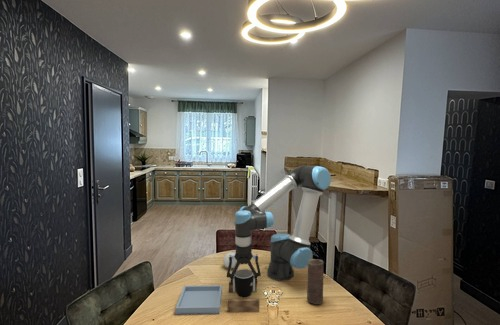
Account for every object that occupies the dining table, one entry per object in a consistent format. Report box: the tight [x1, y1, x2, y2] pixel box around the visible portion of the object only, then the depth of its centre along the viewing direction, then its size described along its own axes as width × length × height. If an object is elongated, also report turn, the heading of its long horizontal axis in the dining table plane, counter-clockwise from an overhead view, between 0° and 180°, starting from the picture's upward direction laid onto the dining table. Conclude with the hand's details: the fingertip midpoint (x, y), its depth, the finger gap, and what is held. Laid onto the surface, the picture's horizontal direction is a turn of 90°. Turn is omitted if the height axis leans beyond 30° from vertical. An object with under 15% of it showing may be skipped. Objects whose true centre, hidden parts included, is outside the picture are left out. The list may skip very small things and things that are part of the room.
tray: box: [175, 284, 223, 316], centre depth 128 cm, size 19×19×3 cm
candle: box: [306, 258, 324, 305], centre depth 128 cm, size 8×7×20 cm
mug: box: [234, 268, 253, 299], centre depth 129 cm, size 12×9×10 cm
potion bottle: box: [222, 250, 237, 270], centre depth 167 cm, size 9×10×15 cm
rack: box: [227, 280, 260, 313], centre depth 129 cm, size 14×18×5 cm
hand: (244, 290), depth 130 cm, fingers closed on mug, 9 cm apart
